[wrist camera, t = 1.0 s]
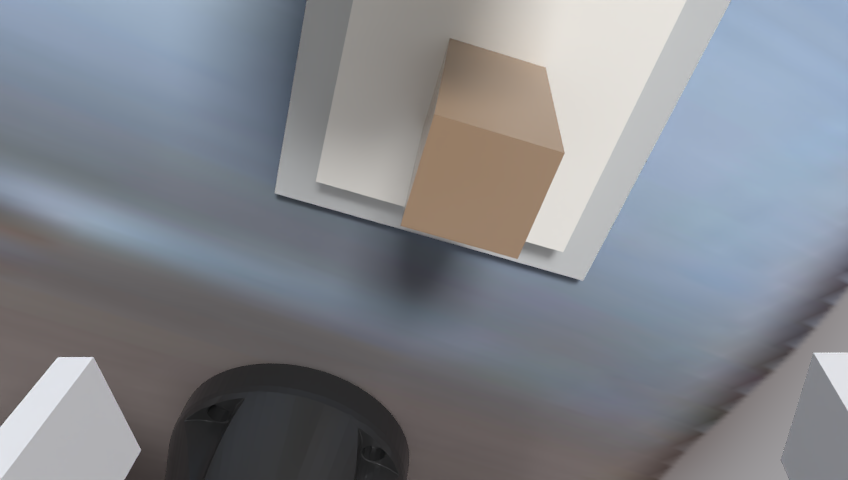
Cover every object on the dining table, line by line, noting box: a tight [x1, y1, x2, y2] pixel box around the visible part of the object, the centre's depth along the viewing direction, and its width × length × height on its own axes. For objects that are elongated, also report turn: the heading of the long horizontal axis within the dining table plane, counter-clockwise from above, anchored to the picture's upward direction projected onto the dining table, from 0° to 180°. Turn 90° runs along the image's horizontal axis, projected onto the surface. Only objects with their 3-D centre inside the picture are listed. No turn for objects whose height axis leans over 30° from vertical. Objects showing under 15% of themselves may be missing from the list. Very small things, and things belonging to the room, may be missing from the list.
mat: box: [275, 0, 731, 281], centre depth 28 cm, size 16×16×1 cm
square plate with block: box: [316, 0, 686, 259], centre depth 24 cm, size 12×12×9 cm
